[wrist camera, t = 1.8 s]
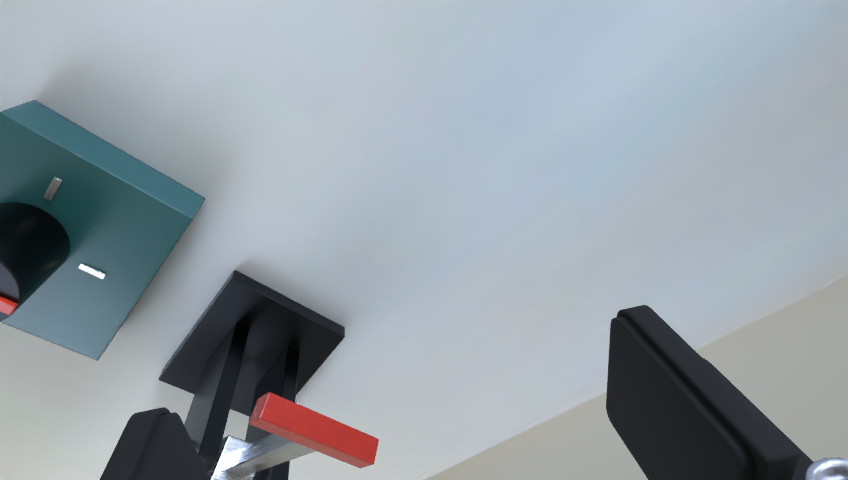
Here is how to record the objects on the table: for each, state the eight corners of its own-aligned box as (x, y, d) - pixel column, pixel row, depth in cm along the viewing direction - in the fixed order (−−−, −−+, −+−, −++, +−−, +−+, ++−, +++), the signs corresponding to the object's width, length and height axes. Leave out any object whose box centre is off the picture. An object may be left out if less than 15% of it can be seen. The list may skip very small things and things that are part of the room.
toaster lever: (274, 376, 20) (252, 435, 18) (382, 424, 22) (371, 480, 21) (183, 433, 28) (162, 478, 26) (270, 465, 30) (255, 508, 28)
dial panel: (-65, 253, 30) (-108, 281, 27) (18, 90, 27) (-22, 102, 24) (117, 330, 34) (96, 362, 31) (205, 198, 31) (192, 219, 28)
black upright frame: (234, 269, 33) (187, 401, 22) (344, 327, 37) (350, 465, 26) (163, 368, 36) (89, 530, 25) (272, 414, 39) (249, 573, 29)
